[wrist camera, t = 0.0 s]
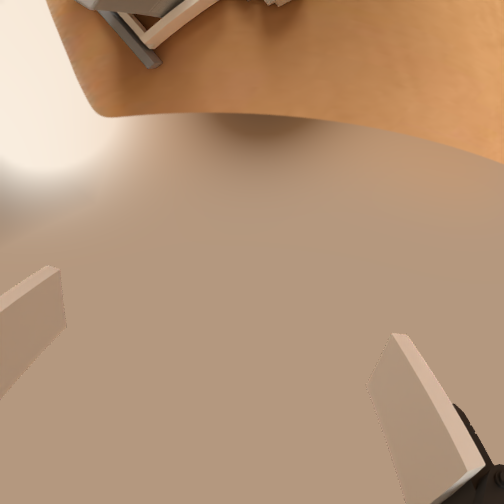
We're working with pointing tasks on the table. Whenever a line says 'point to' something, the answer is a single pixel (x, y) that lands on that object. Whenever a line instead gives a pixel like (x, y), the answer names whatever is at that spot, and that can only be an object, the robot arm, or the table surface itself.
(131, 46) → the lane bed
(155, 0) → the skincare box
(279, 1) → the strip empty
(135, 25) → the white and teal frame
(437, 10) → the table surface
